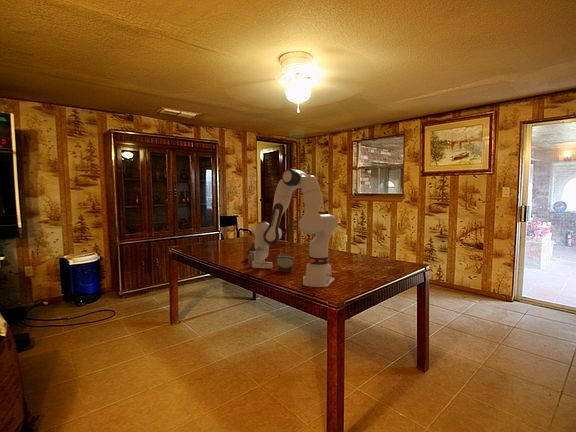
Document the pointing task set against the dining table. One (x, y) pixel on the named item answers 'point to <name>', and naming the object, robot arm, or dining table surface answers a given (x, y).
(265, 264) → the gate leaf
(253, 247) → the stone
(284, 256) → the food container
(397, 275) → the dining table surface
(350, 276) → the dining table surface
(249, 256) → the hinge post
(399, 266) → the dining table surface
